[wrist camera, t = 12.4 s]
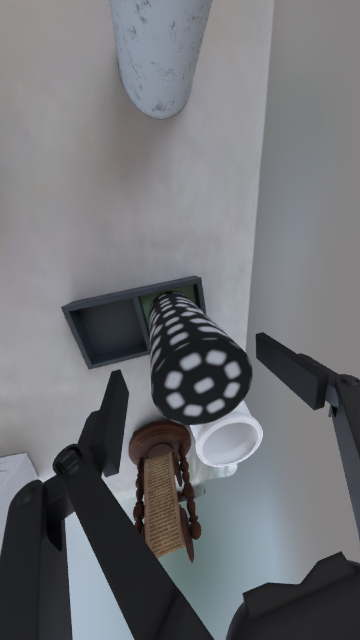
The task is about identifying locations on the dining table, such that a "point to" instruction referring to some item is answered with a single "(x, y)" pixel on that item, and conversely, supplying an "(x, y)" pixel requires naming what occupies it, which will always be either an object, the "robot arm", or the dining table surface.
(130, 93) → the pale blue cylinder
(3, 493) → the tall white carton
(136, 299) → the divided tray
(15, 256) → the dining table surface
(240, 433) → the jar
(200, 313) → the white-spotted black cylinder
